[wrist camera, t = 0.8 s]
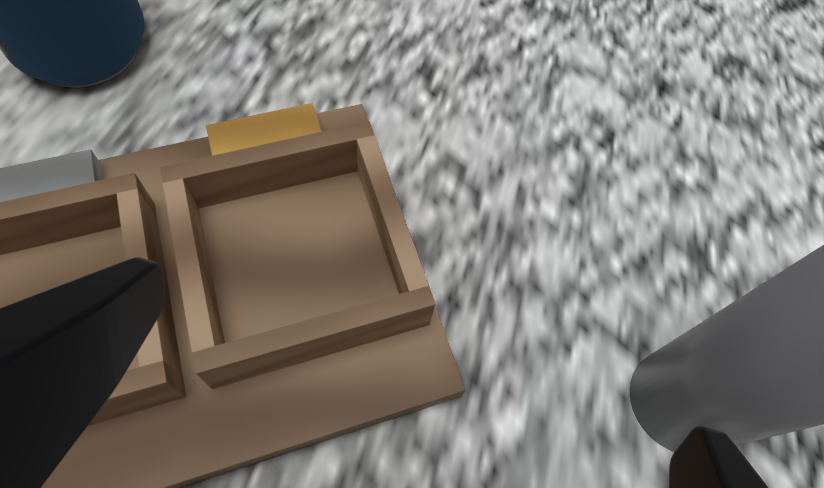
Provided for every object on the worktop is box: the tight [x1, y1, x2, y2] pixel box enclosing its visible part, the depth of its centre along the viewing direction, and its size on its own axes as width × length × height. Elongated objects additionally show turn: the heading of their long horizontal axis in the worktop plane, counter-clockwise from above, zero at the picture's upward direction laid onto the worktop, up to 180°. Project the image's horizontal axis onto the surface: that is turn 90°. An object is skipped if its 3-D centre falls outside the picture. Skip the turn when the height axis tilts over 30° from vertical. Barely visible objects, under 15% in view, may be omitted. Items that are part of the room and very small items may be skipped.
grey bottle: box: [630, 245, 824, 452], centre depth 19 cm, size 4×4×13 cm
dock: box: [0, 103, 465, 488], centre depth 24 cm, size 15×20×4 cm
